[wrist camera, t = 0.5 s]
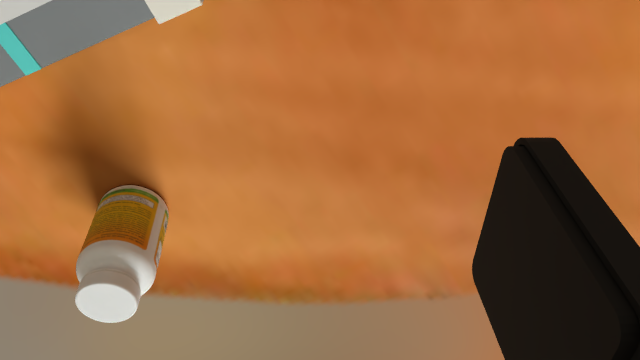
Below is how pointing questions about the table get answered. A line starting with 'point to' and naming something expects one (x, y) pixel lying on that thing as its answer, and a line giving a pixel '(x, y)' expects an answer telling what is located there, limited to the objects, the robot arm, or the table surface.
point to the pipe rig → (59, 30)
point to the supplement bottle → (120, 253)
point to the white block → (171, 8)
